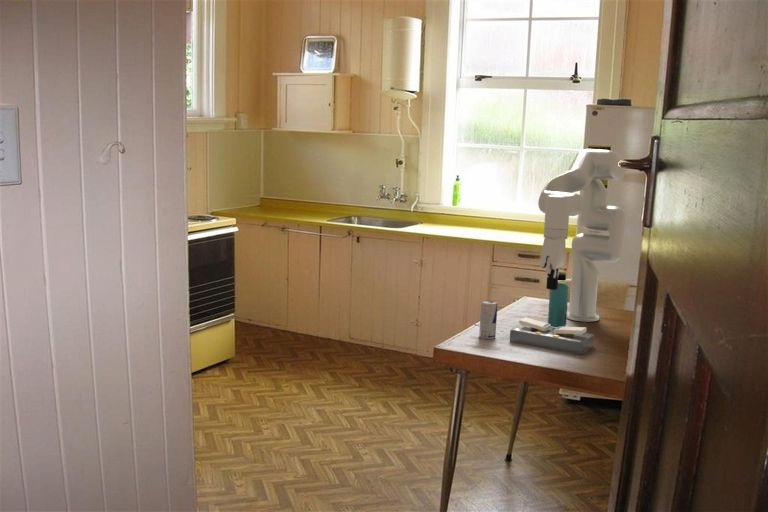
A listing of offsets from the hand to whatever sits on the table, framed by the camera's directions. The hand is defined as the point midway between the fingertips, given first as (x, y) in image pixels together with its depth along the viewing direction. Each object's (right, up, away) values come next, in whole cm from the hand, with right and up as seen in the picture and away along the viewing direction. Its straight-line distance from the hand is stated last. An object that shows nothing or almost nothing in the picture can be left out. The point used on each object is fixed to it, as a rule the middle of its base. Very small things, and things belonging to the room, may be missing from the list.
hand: (551, 289), depth 257 cm
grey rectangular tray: (0, -18, +1) cm, 18 cm away
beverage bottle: (+6, -15, +20) cm, 26 cm away
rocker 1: (-5, -12, +3) cm, 13 cm away
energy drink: (-20, -17, +6) cm, 27 cm away
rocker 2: (+5, -13, -3) cm, 15 cm away
